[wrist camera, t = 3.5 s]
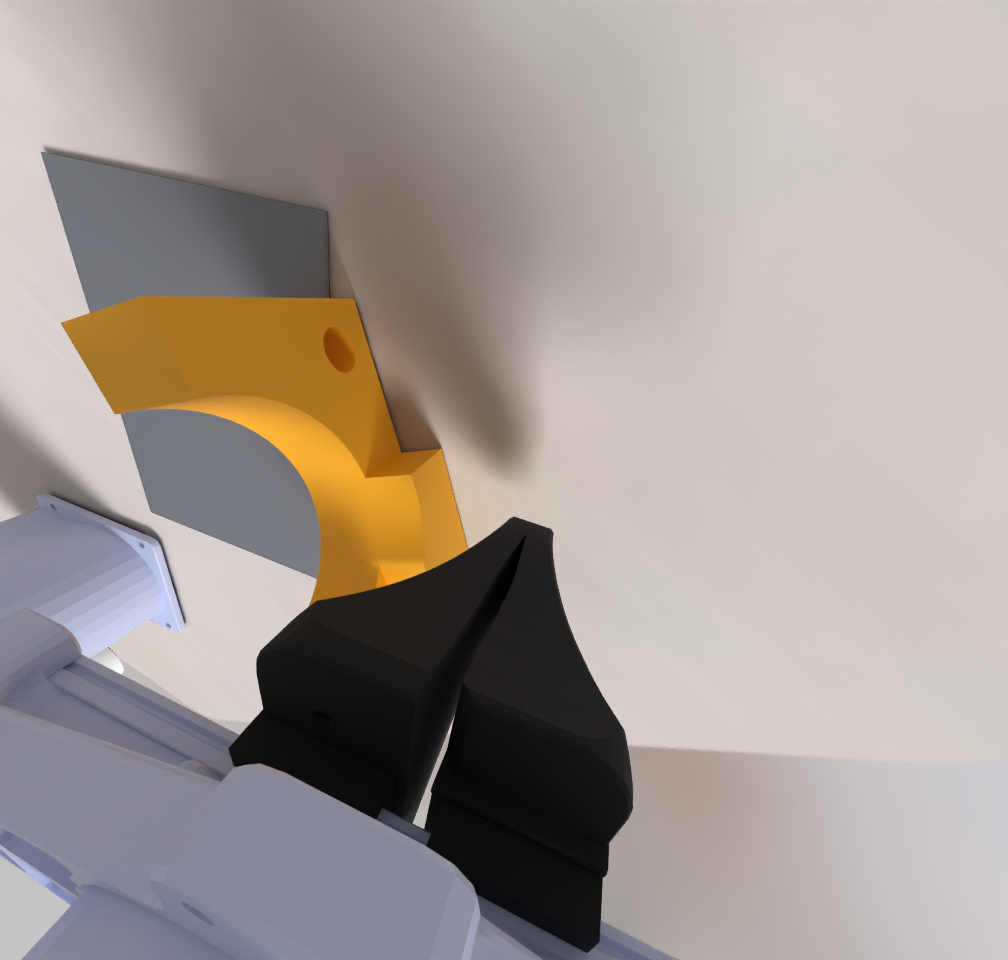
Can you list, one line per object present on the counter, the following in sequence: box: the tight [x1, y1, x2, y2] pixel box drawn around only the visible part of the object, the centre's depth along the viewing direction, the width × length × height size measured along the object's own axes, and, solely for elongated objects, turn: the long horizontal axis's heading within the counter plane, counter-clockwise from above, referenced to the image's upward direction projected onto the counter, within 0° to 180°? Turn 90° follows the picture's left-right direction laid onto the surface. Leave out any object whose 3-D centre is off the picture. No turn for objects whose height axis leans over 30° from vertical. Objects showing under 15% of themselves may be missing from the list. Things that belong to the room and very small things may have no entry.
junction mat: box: [41, 152, 329, 579], centre depth 16 cm, size 12×16×1 cm
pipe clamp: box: [61, 296, 468, 606], centre depth 12 cm, size 12×4×6 cm, turn 11°
